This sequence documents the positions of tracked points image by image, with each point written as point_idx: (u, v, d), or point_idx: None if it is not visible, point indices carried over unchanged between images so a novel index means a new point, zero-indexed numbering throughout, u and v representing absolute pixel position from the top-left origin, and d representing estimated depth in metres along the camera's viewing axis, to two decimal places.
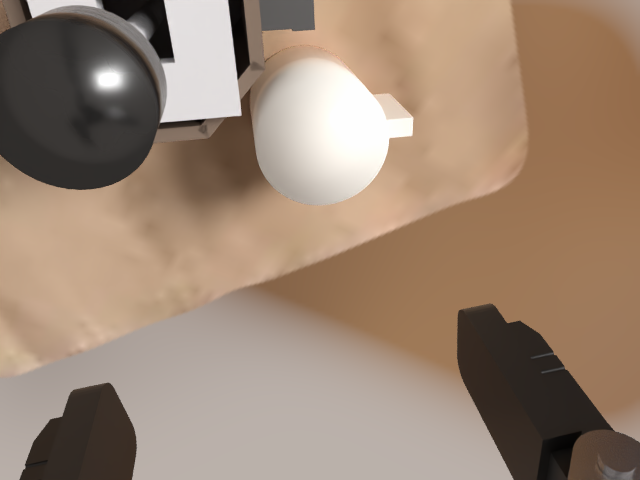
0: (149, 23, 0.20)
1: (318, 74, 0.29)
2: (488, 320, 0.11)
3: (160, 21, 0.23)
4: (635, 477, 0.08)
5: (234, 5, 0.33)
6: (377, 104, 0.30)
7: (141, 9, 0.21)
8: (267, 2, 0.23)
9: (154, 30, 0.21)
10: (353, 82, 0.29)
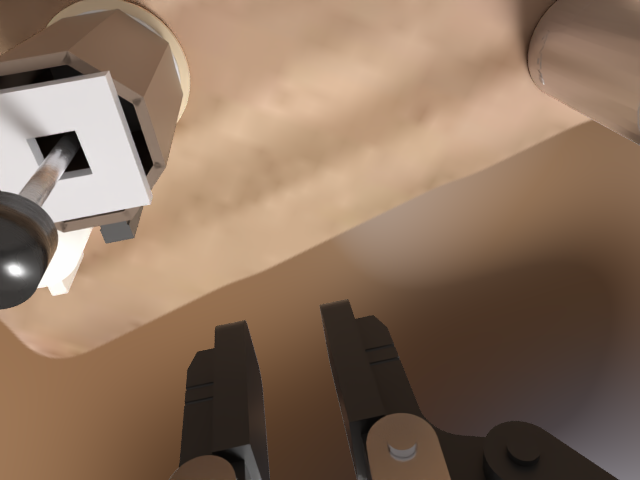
0: None
1: None
2: (338, 314, 0.12)
3: None
4: (414, 454, 0.08)
5: None
6: (68, 273, 0.38)
7: None
8: None
9: None
10: (79, 253, 0.38)
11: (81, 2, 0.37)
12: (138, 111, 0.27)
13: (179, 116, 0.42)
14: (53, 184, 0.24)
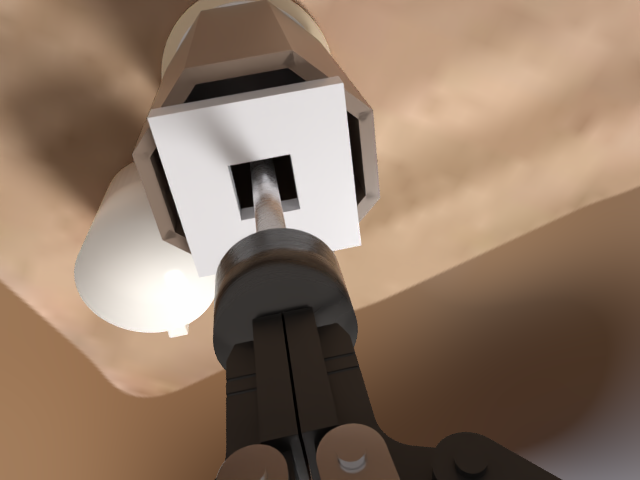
0: None
1: None
2: (301, 322, 0.12)
3: None
4: (362, 466, 0.08)
5: None
6: (199, 314, 0.32)
7: None
8: None
9: None
10: None
11: None
12: (362, 128, 0.21)
13: None
14: None
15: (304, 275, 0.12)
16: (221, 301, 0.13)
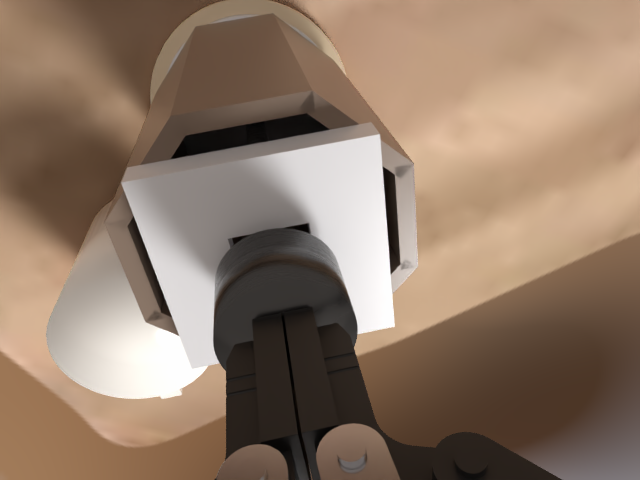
0: None
1: None
2: (301, 322, 0.12)
3: None
4: (362, 466, 0.08)
5: None
6: (194, 378, 0.28)
7: None
8: None
9: None
10: None
11: (220, 4, 0.26)
12: (400, 185, 0.16)
13: None
14: None
15: (304, 276, 0.12)
16: (221, 301, 0.13)
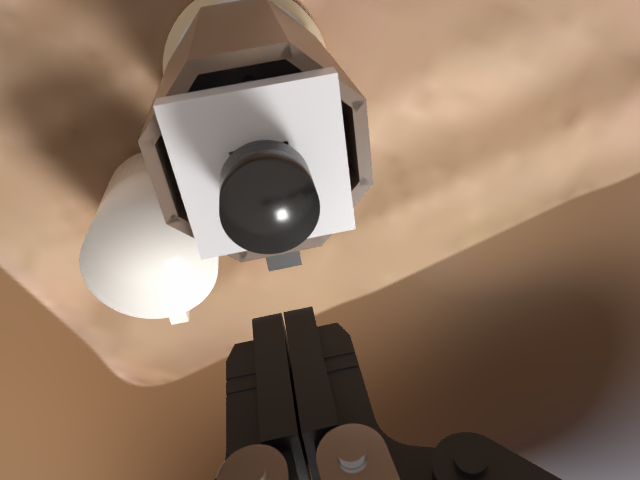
0: None
1: None
2: (301, 322, 0.12)
3: None
4: (362, 466, 0.08)
5: None
6: (199, 301, 0.33)
7: None
8: None
9: None
10: (215, 279, 0.33)
11: None
12: (356, 117, 0.22)
13: None
14: None
15: (281, 163, 0.18)
16: (224, 184, 0.18)
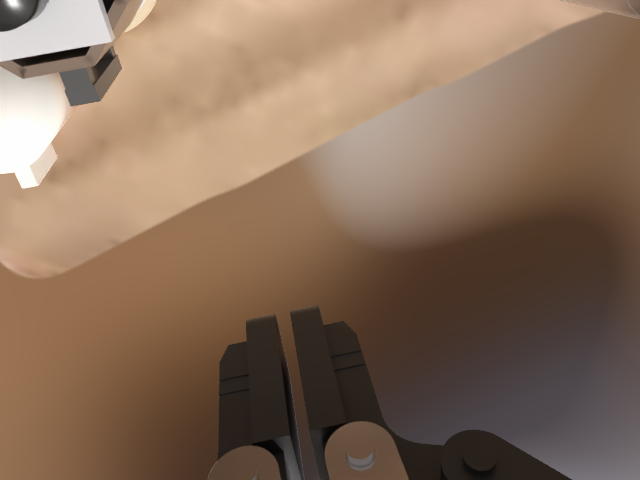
0: None
1: (45, 105, 0.36)
2: (307, 321, 0.12)
3: None
4: (371, 464, 0.08)
5: None
6: (36, 157, 0.37)
7: None
8: (78, 69, 0.31)
9: None
10: (48, 135, 0.36)
11: None
12: None
13: (152, 5, 0.41)
14: None
15: None
16: None
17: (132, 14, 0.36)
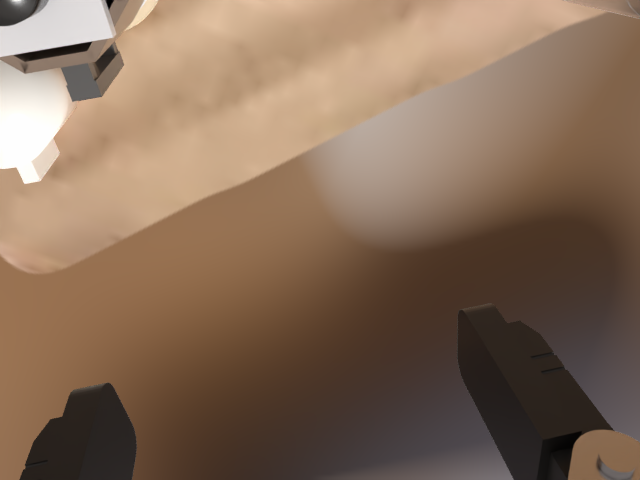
0: None
1: (47, 101, 0.36)
2: (488, 320, 0.11)
3: None
4: (635, 477, 0.08)
5: None
6: (38, 152, 0.37)
7: None
8: (80, 64, 0.31)
9: None
10: (50, 130, 0.37)
11: None
12: None
13: (155, 2, 0.41)
14: None
15: None
16: None
17: (134, 11, 0.37)
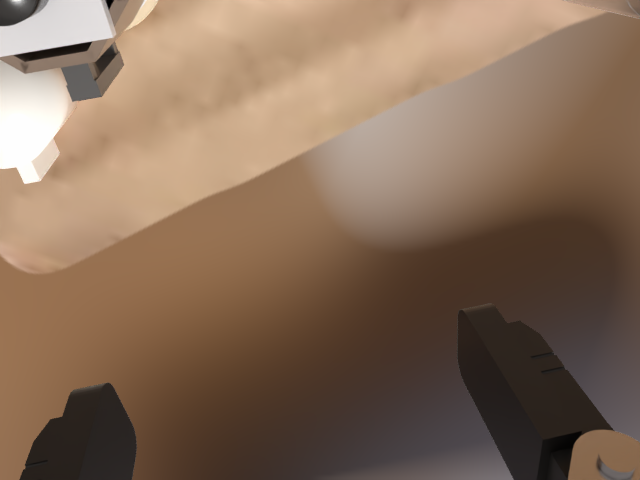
0: None
1: (47, 101, 0.36)
2: (488, 320, 0.11)
3: None
4: (635, 477, 0.08)
5: None
6: (38, 152, 0.37)
7: None
8: (80, 64, 0.31)
9: None
10: (50, 130, 0.37)
11: None
12: None
13: (155, 2, 0.41)
14: None
15: None
16: None
17: (134, 11, 0.37)
